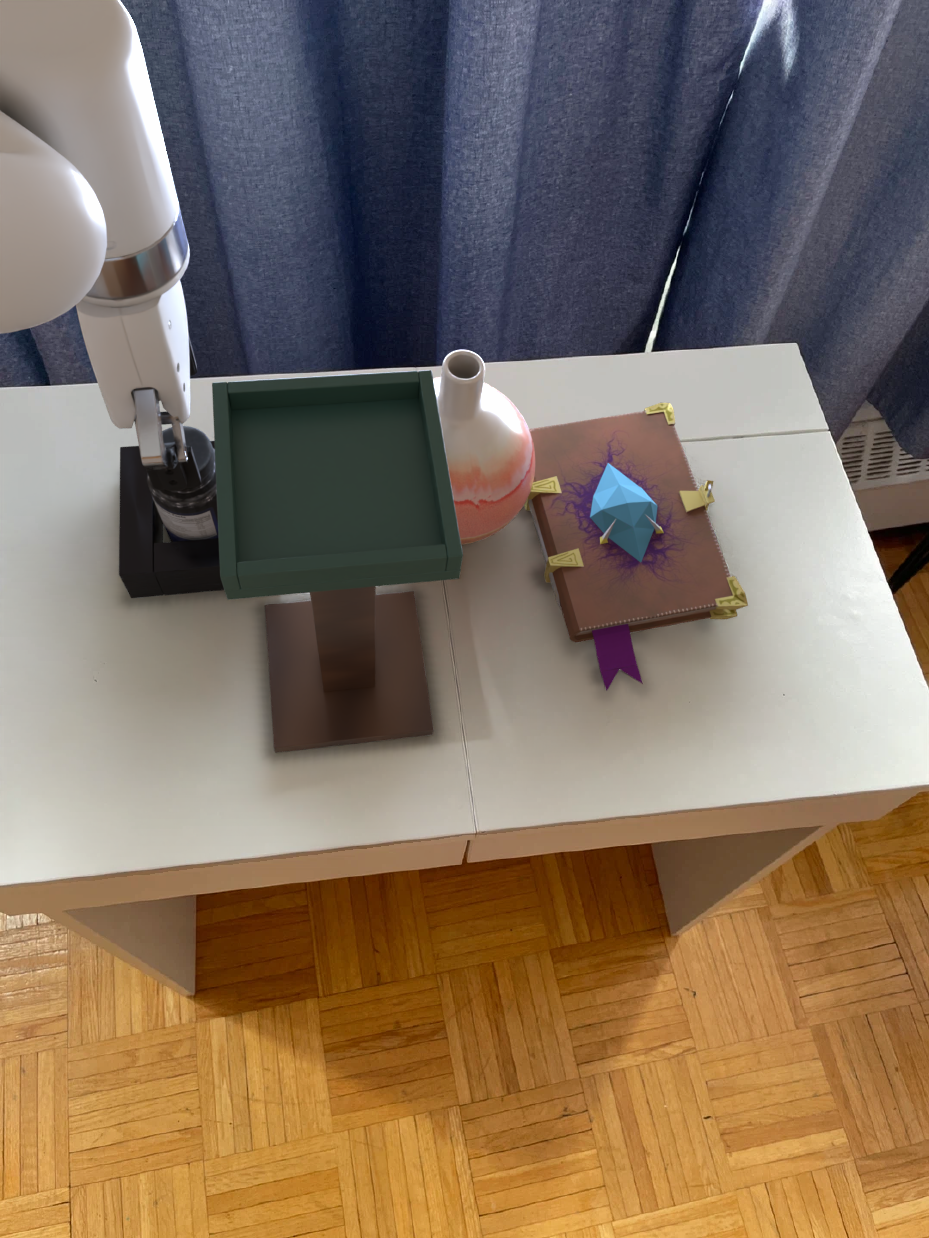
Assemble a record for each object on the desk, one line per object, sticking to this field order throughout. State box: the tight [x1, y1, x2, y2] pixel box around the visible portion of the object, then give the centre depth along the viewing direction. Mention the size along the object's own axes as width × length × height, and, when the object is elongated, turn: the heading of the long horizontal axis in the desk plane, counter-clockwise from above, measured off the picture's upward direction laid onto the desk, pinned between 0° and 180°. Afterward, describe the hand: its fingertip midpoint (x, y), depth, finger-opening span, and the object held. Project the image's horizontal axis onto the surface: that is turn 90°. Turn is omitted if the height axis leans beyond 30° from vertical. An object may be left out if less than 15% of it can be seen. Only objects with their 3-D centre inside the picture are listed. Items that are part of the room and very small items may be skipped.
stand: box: [264, 586, 434, 754], centre depth 62 cm, size 12×12×26 cm
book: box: [523, 402, 749, 692], centre depth 79 cm, size 16×25×5 cm, turn 12°
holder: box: [118, 440, 225, 599], centre depth 77 cm, size 12×12×4 cm
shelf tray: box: [211, 369, 464, 601], centre depth 50 cm, size 12×12×2 cm
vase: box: [433, 349, 535, 546], centre depth 74 cm, size 14×14×18 cm
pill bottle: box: [147, 425, 219, 542], centre depth 73 cm, size 6×6×11 cm
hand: (176, 427), depth 66 cm, fingers open, 9 cm apart
